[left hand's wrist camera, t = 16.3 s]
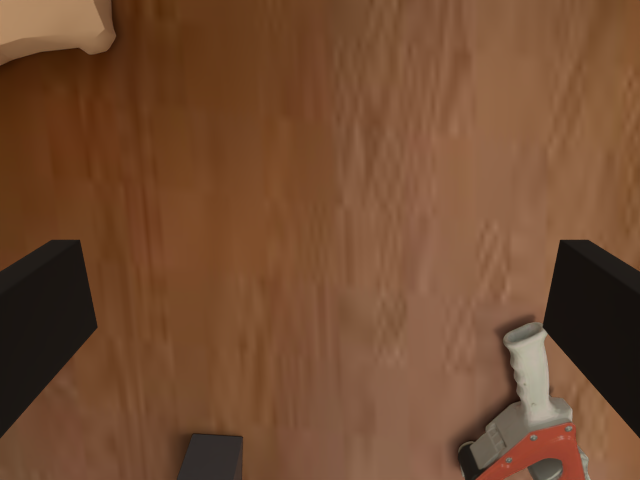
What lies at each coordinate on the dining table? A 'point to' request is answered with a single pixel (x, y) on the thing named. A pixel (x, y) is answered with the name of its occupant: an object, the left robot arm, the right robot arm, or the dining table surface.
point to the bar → (212, 458)
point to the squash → (54, 26)
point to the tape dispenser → (527, 423)
